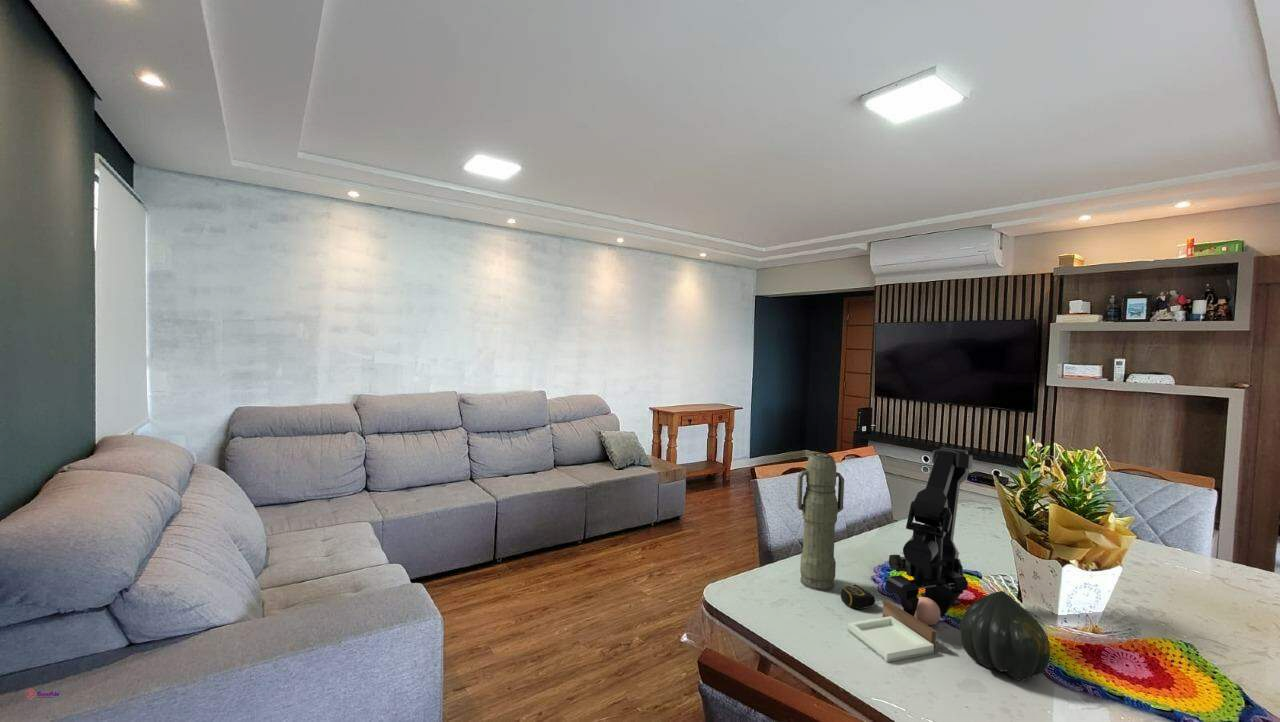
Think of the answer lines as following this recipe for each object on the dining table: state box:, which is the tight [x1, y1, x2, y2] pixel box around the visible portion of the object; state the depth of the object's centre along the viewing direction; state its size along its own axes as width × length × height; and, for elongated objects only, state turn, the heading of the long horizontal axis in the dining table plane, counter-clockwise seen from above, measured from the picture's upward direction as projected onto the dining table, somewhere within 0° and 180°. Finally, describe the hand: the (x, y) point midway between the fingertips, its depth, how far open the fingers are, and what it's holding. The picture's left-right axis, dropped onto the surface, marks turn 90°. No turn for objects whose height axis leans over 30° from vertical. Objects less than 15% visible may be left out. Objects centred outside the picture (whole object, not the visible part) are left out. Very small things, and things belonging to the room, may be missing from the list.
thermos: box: [796, 452, 845, 592], centre depth 141 cm, size 9×12×35 cm
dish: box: [846, 616, 935, 663], centre depth 114 cm, size 12×12×2 cm
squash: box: [959, 590, 1051, 681], centre depth 106 cm, size 14×15×15 cm
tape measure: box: [840, 584, 876, 610], centre depth 130 cm, size 7×7×4 cm
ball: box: [914, 596, 941, 626], centre depth 122 cm, size 6×6×6 cm
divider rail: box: [882, 599, 937, 651], centre depth 118 cm, size 1×14×4 cm, turn 17°
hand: (925, 619), depth 122 cm, fingers open, 9 cm apart
